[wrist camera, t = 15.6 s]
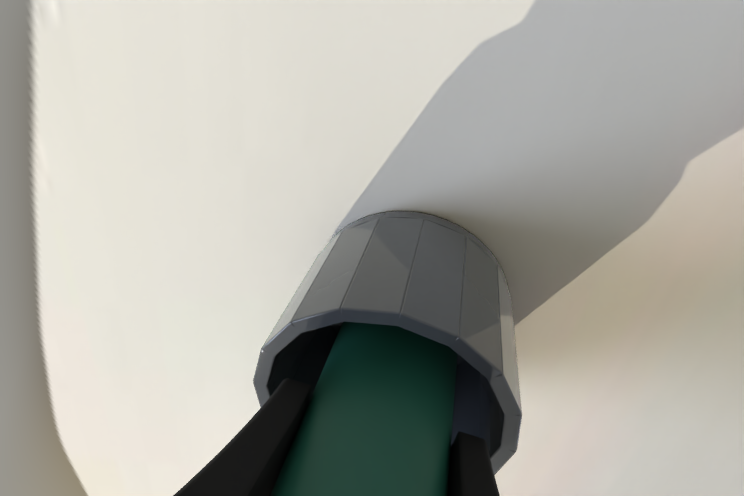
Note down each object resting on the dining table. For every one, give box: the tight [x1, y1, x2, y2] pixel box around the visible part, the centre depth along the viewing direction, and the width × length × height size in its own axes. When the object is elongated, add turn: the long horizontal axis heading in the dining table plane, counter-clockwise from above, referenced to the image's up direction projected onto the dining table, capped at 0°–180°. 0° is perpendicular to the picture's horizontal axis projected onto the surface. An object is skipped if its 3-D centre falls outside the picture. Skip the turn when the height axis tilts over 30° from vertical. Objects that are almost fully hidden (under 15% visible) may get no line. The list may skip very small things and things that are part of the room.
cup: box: [253, 211, 522, 475], centre depth 13 cm, size 7×7×5 cm
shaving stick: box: [270, 322, 457, 496], centre depth 10 cm, size 4×4×8 cm
